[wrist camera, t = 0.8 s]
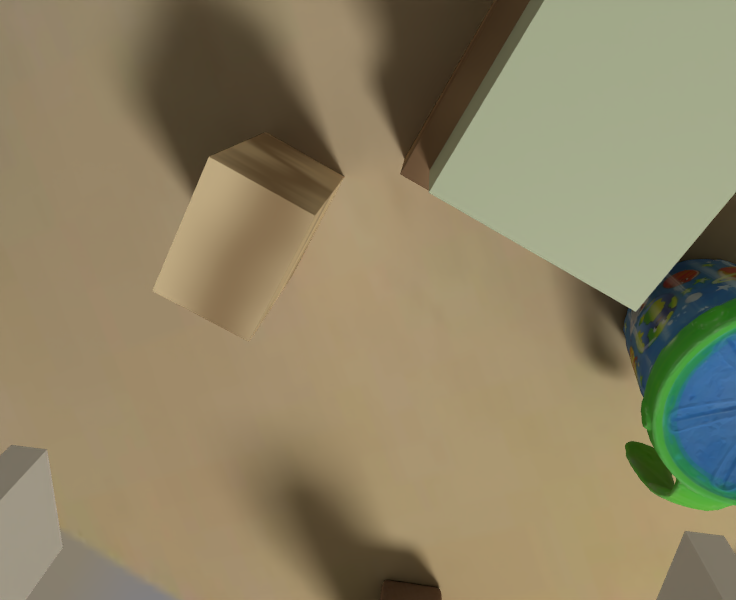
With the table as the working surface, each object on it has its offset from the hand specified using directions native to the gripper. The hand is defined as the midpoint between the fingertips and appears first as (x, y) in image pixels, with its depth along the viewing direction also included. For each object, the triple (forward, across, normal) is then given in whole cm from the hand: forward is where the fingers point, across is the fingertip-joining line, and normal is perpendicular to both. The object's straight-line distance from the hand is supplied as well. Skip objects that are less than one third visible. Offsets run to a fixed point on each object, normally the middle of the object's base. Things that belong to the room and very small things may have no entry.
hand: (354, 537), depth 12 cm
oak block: (+24, -7, 0) cm, 25 cm away
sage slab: (+19, +8, +7) cm, 22 cm away
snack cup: (+23, +18, -3) cm, 29 cm away
